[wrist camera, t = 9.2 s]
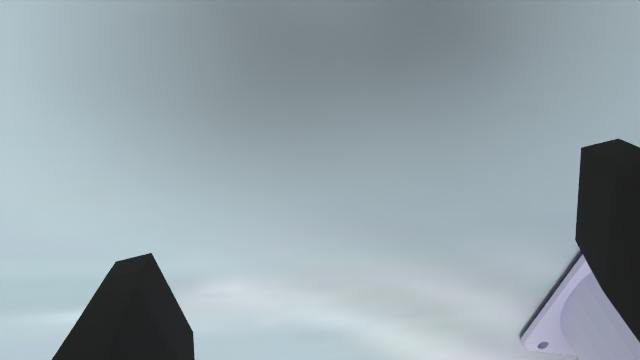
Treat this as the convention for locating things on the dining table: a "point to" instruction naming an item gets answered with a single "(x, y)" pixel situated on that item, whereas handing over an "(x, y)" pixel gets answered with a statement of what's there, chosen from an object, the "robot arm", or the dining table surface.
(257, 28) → the dining table surface
